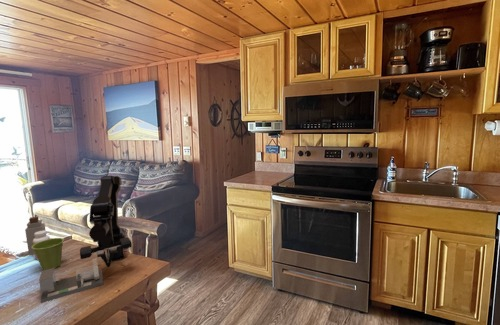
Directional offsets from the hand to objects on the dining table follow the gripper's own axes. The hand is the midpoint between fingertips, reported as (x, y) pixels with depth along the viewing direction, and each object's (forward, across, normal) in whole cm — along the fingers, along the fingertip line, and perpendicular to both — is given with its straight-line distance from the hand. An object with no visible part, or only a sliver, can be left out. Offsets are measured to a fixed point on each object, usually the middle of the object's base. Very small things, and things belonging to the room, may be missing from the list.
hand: (108, 267), depth 117 cm
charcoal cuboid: (+2, +11, +6) cm, 12 cm away
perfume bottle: (+4, +28, -48) cm, 56 cm away
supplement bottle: (+4, +25, -38) cm, 46 cm away
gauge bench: (+4, +13, +1) cm, 13 cm away
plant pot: (+4, +22, -24) cm, 33 cm away
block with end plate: (+2, +8, +1) cm, 8 cm away
